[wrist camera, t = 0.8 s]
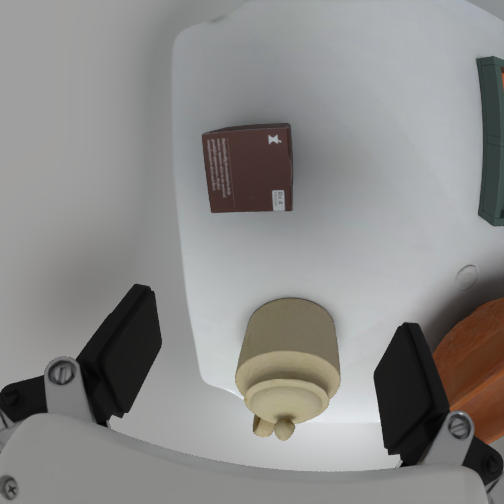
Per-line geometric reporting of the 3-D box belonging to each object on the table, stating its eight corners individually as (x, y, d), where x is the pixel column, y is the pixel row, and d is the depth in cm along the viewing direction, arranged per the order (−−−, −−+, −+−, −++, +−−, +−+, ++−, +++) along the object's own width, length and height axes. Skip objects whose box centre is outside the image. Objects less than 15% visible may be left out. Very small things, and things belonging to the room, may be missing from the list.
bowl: (515, 350, 32) (545, 409, 18) (401, 402, 39) (414, 475, 26) (535, 233, 23) (601, 294, 9) (385, 300, 30) (420, 407, 17)
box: (224, 126, 24) (199, 131, 18) (291, 122, 23) (290, 125, 17) (230, 188, 27) (209, 214, 21) (293, 187, 26) (293, 213, 20)
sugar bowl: (336, 374, 37) (340, 468, 24) (261, 379, 39) (245, 469, 26) (333, 291, 31) (348, 407, 17) (237, 300, 33) (204, 410, 20)
